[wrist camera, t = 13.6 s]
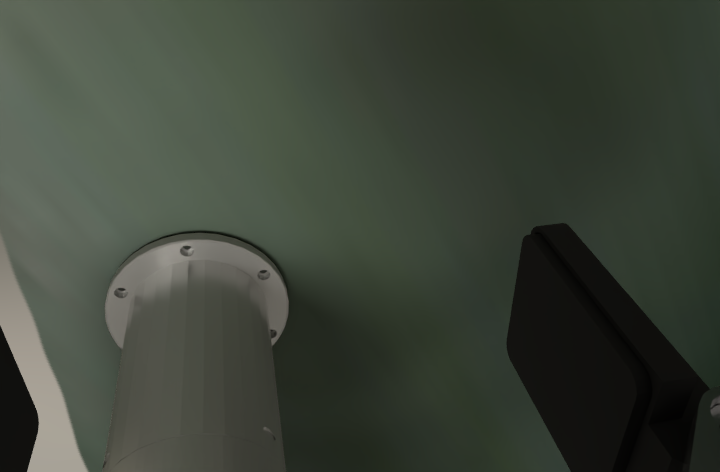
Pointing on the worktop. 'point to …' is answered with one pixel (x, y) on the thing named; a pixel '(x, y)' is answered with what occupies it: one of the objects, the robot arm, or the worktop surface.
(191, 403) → the robot arm
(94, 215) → the worktop surface
